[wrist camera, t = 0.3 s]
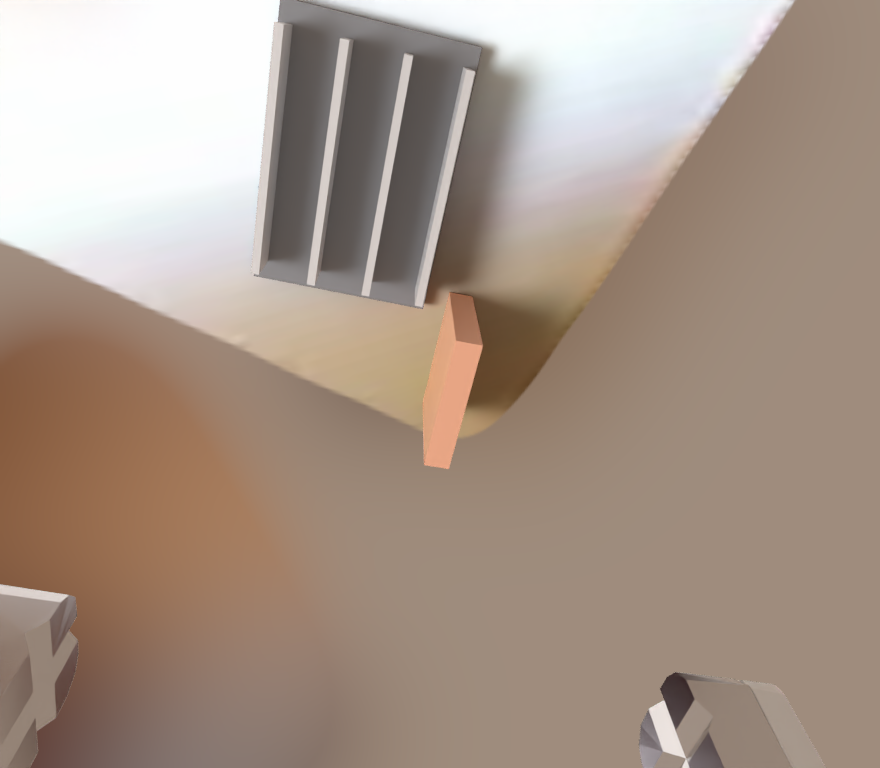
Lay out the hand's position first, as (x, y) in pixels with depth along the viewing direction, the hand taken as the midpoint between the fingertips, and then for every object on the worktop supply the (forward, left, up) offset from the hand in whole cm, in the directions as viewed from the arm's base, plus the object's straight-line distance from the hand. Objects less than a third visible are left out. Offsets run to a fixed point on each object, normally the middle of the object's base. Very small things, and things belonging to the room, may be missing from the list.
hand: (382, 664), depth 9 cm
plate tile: (+16, +7, -47) cm, 50 cm away
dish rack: (+2, -3, -47) cm, 47 cm away
